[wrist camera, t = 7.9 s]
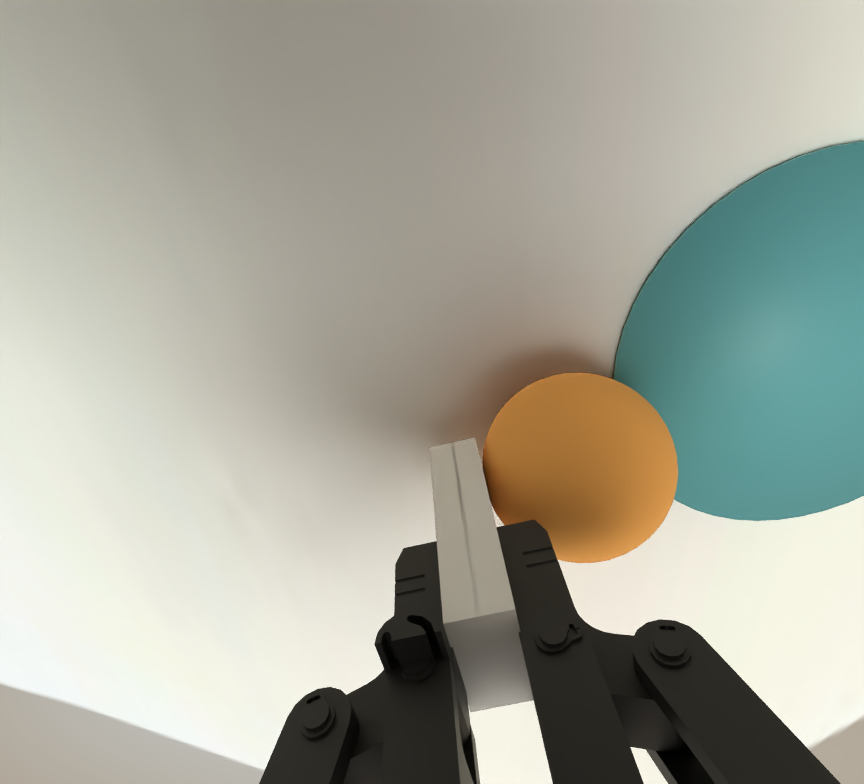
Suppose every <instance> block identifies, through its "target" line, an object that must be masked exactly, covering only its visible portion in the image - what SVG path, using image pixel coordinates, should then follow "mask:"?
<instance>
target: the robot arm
mask: <svg viewBox="0 0 864 784" xmlns="http://www.w3.org/2000/svg"><path fill="white" fill-rule="evenodd" d="M429 448H430V461H431V474H432V487H433V500H434V512H435V525H436V538H437V541H436V542H431V543H426V544H421V545H417V546H412V547H407V548H404V549H403V551H402V552H401V554H400V556H399V558H398V560H397V562H396V567H395V582H396V584H395V612H394V616H393V617H392V618H391V619H389V620H388V621H387V622H385V623H384V625H383V626H382V628H381V629H380V630H379V632H378V633H377V637H376V641H375V647H376V649H377V652H378V654H379V657H380V659H381V662H382V664H383V667H384V670H383V672H382V673H381V674H380V675H378V676H377V677H376V678H375V679H374V680H372V681H371V682H369V683H368V684H366V685H364V686H362V687H361V688H359V689H357V690H355V691H353V692H351V693H349V694H347V695H346V694H345V693H343V692H342V691H341V690H339V689H336V688H332V687H327V688H321V689H317V690H315V691H313V692H311V693H309V694H307V695H305V696H304V697H303V698H302V699H301V700H300V701H299V702H298V703H297V704H296V705H295V706H294V708H293V709H292V711H291V713H290V714H289V716H288V717H287V720H286V722H285V724H284V727H283V729H282V731H281V734H280V736H279V738H278V741H277V743H276V746H275V748H274V750H273V753H272V755H271V757H270V760H269V762H268V764H267V767H266V769H265V771H264V774H263V776H262V779H261V781H260V783H259V784H480V779H479V771H478V762H477V753H476V744H475V738H474V735H473V732H472V729H471V725H470V718H469V709H470V712H474V711H479V710H484V709H489V708H495V707H500V706H505V705H511V704H516V703H521V702H526V701H531V700H534V703H535V708H536V712H537V716H538V720H539V725H540V729H541V733H542V738H543V742H544V747H545V751H546V755H547V759H548V764H549V768H550V773H551V777H552V781H553V784H644V783H643V781H642V778H641V775H640V773H639V770H638V767H637V765H636V762H635V759H634V756H633V754H632V751H631V748H630V747H635V748H642V749H646V751H647V752H648V754H649V755H650V757H651V758H652V760H653V761H654V763H655V764H656V766H657V767H658V769H659V770H660V772H661V773H662V775H663V776H664V778H665V779H666V781H667V782H668V784H840V782H839V781H838V780H837V779H836V778H835V777H834V776H833V775H832V774H831V773H830V772H829V771H828V770H827V769H826V768H825V767H824V765H823V764H822V763H821V762H820V761H819V760H818V759H817V758H816V757H815V756H814V755H813V754H812V753H811V752H810V751H809V750H808V749H807V747H806V746H805V745H804V744H803V743H802V742H801V741H800V740H799V739H798V738H797V737H796V736H795V735H794V734H793V733H792V732H791V730H790V729H789V728H788V727H787V726H786V725H785V724H784V723H783V722H782V721H781V720H780V719H779V718H778V717H777V716H776V715H775V714H774V712H773V711H772V710H771V709H770V708H769V707H768V706H767V705H766V704H765V703H764V702H763V701H762V700H761V699H760V698H759V697H758V695H757V694H756V693H755V692H754V691H753V690H752V689H751V688H750V687H749V686H748V685H747V684H746V683H745V682H744V681H743V680H742V679H741V677H740V676H739V675H738V674H737V673H736V672H735V671H734V670H733V669H732V668H731V667H730V666H729V665H728V664H727V663H726V662H725V660H724V659H723V658H722V657H721V656H720V655H719V654H718V653H717V652H716V651H715V650H714V649H713V648H712V647H711V646H710V645H709V644H708V642H707V641H706V640H705V639H704V638H703V637H702V636H701V635H700V634H698V633H697V632H696V631H695V630H693V629H692V628H691V627H689V626H687V625H685V624H682V623H679V622H677V621H672V620H656V621H652V622H648V623H646V624H645V625H643V626H642V627H640V628H639V629H638V630H637V631H636V633H635V635H634V636H631V635H620V634H612V633H607V632H603V631H600V630H598V629H595V628H593V627H592V626H590V625H589V624H587V623H586V622H585V621H584V620H583V619H582V618H581V617H580V616H579V615H578V613H577V611H576V609H575V607H574V604H573V601H572V599H571V596H570V593H569V590H568V588H567V585H566V582H565V579H564V576H563V574H562V571H561V568H560V565H559V563H558V560H557V557H556V554H555V551H554V549H553V546H552V543H551V540H550V538H549V535H548V532H547V530H545V529H544V528H543V527H542V526H541V525H540V524H539V523H538V522H537V521H536V520H529V521H524V522H519V523H515V524H510V525H505V526H501V527H496V524H495V520H494V515H493V511H492V507H491V503H490V498H489V494H488V490H487V486H486V481H485V477H484V473H483V468H482V464H481V460H480V456H479V451H478V447H477V443H476V438H470V439H465V440H461V441H456V442H452V443H447V444H443V445H438V446H434V447H429ZM468 705H469V709H468Z"/></svg>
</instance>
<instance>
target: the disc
mask: <svg viewBox="0 0 864 784" xmlns="http://www.w3.org/2000/svg"><path fill="white" fill-rule="evenodd" d="M613 379H614V380H616V381H618V382H620V383H622V384H624V385H626V386H628V387H630V388H631V389H633V390H634V391H636V392H637V393H639V394H640V395H641V396H642V397H643V398H645V399H646V400H647V401H648V402H649V403H650V404H651V405H652V406H653V407H654V409H655V410H656V411H657V412H658V413H659V415H660V417H661V418H662V420H663V421H664V423H665V424H666V426H667V428H668V430H669V432H670V435H671V437H672V439H673V443H674V446H675V450H676V454H677V463H678V480H677V487H676V492H675V496H674V499H675V500H676V501H678V502H680V503H682V504H684V505H686V506H688V507H691V508H693V509H695V510H698V511H701V512H704V513H707V514H711V515H714V516H719V517H724V518H730V519H737V520H753V521H761V520H780V519H786V518H793V517H800V516H805V515H809V514H813V513H817V512H821V511H825V510H828V509H831V508H834V507H837V506H839V505H842V504H845V503H848V502H850V501H853V500H855V499H857V498H859V497H862V496H864V141H858V142H853V143H847V144H841V145H835V146H830V147H826V148H823V149H820V150H817V151H813V152H810V153H807V154H804V155H800V156H797V157H795V158H793V159H791V160H788V161H786V162H784V163H782V164H779V165H777V166H775V167H773V168H770V169H768V170H766V171H764V172H763V173H761V174H759V175H758V176H756V177H754V178H752V179H751V180H749V181H747V182H746V183H744V184H742V185H740V186H739V187H737V188H736V189H735V190H733V191H732V192H730V193H729V194H728V195H726V196H725V197H724V198H722V199H721V200H720V201H718V202H717V203H716V204H714V205H713V206H712V207H710V208H709V209H708V210H707V211H706V212H705V213H704V214H703V215H702V216H700V217H699V218H698V219H697V220H696V221H695V222H694V223H693V224H692V225H691V226H690V227H688V228H687V229H686V230H685V232H684V233H683V234H682V235H681V236H680V237H679V238H678V239H677V241H676V242H675V243H674V244H673V245H672V246H671V247H670V249H669V250H668V251H667V252H666V253H665V254H664V256H663V257H662V259H661V260H660V261H659V263H658V264H657V266H656V267H655V269H654V270H653V271H652V273H651V274H650V276H649V277H648V278H647V280H646V282H645V284H644V286H643V287H642V289H641V291H640V293H639V295H638V297H637V298H636V300H635V302H634V304H633V306H632V309H631V311H630V314H629V316H628V319H627V321H626V324H625V326H624V328H623V332H622V335H621V339H620V343H619V347H618V350H617V354H616V361H615V369H614V377H613Z"/></svg>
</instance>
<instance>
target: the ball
mask: <svg viewBox="0 0 864 784" xmlns="http://www.w3.org/2000/svg"><path fill="white" fill-rule="evenodd" d="M483 473H484V477H485V481H486V486H487V490H488V494H489V498H490V502H491V504H492V506H493V508H494V511H495V512H496V514H497V515H498V517H499V518H500V520H501V521H502V523H503V524H504V525H510V524H515V523H519V522H524V521H529V520H536V521H537V522H538V523H539V524H540V525H541V526H542V527H543V528H544V529H545V530H547V532H548V535H549V538H550V540H551V543H552V546H553V549H554V551H555V554H556V557H557V559H558V560H562V561H567V562H575V563H593V562H601V561H606V560H610V559H613V558H616V557H618V556H621V555H624V554H626V553H628V552H630V551H631V550H633V549H635V548H637V547H638V546H640V545H641V544H642V543H643V542H645V541H646V540H647V539H648V538H649V537H650V536H651V535H652V534H653V533H654V532H655V531H656V530H657V529H658V527H659V526H660V525H661V524H662V522H663V521H664V519H665V517H666V515H667V513H668V511H669V509H670V507H671V505H672V502H673V500H674V496H675V492H676V487H677V480H678V463H677V454H676V450H675V446H674V443H673V439H672V437H671V435H670V432H669V430H668V428H667V426H666V424H665V423H664V421H663V420H662V418H661V417H660V415H659V413H658V412H657V411H656V410H655V409H654V407H653V406H652V405H651V404H650V403H649V402H648V401H647V400H646V399H645V398H643V397H642V396H641V395H640V394H639V393H637V392H636V391H634V390H633V389H631V388H630V387H628V386H626V385H624V384H622V383H620V382H618V381H616V380H614V379H611V378H608V377H604V376H601V375H596V374H590V373H563V374H557V375H553V376H550V377H546V378H543V379H540V380H538V381H536V382H534V383H532V384H530V385H528V386H526V387H525V388H523V389H522V390H521V391H519V392H518V393H517V394H515V395H514V396H513V397H512V398H511V399H510V400H509V401H508V402H507V403H506V404H505V405H504V406H503V408H502V409H501V410H500V411H499V413H498V414H497V416H496V417H495V419H494V421H493V423H492V425H491V427H490V429H489V432H488V434H487V438H486V441H485V445H484V451H483Z"/></svg>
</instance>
